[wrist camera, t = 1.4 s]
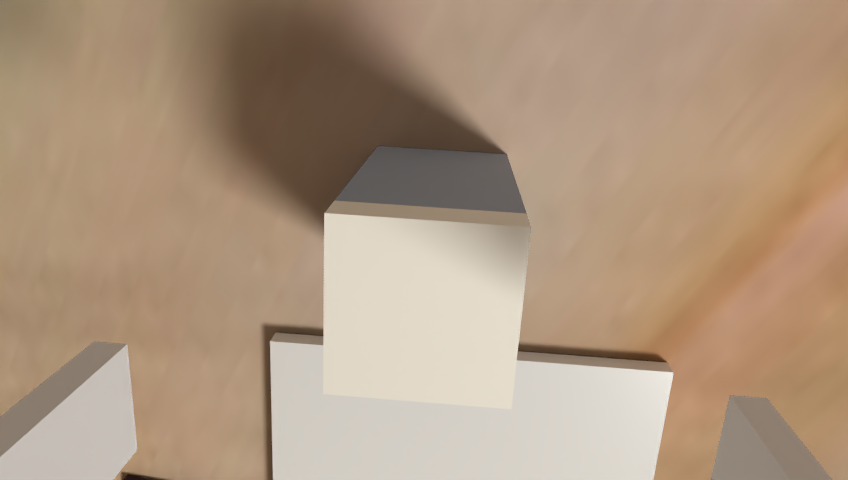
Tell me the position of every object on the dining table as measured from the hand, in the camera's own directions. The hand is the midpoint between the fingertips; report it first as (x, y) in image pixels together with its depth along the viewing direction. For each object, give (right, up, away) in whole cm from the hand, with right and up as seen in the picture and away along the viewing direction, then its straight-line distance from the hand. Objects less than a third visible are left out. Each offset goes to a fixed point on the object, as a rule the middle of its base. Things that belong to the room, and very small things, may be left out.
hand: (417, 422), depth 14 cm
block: (+1, +5, +17) cm, 18 cm away
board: (+2, -8, +21) cm, 23 cm away
